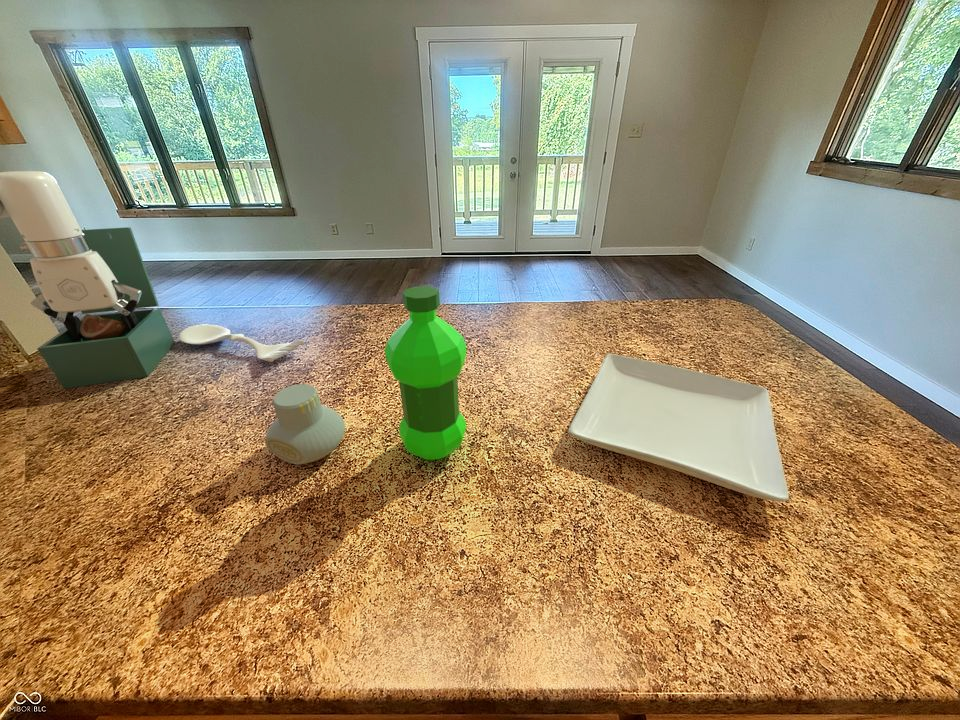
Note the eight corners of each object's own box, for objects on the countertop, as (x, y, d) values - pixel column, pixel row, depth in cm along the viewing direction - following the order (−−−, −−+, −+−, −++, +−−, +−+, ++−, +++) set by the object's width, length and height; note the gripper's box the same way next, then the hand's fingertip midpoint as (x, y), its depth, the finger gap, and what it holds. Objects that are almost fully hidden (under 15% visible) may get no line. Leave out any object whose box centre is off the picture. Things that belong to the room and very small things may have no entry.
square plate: (604, 366, 78) (607, 350, 76) (761, 404, 67) (769, 385, 65) (564, 448, 58) (566, 428, 56) (780, 521, 47) (793, 500, 45)
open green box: (148, 376, 76) (127, 337, 72) (64, 389, 72) (36, 348, 68) (175, 342, 89) (159, 307, 84) (104, 351, 85) (84, 315, 81)
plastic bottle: (424, 419, 64) (410, 274, 51) (480, 438, 60) (479, 286, 47) (386, 457, 56) (358, 298, 44) (446, 482, 52) (434, 314, 40)
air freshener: (357, 439, 60) (345, 387, 55) (320, 477, 53) (302, 421, 48) (303, 423, 63) (288, 372, 58) (262, 456, 57) (240, 402, 52)
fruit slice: (142, 335, 79) (131, 313, 77) (106, 349, 74) (93, 326, 71) (115, 329, 82) (103, 308, 79) (78, 343, 76) (64, 320, 74)
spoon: (275, 372, 77) (270, 357, 75) (173, 344, 88) (166, 331, 86) (308, 352, 84) (304, 338, 83) (210, 329, 95) (205, 316, 93)
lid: (128, 227, 78) (130, 227, 79) (45, 232, 74) (48, 231, 75) (157, 306, 84) (159, 305, 85) (81, 314, 80) (84, 313, 81)
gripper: (-18, 257, 63) (43, 349, 72) (109, 248, 68) (151, 336, 76) (13, 246, 69) (66, 332, 78) (128, 239, 74) (165, 321, 83)
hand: (108, 334), depth 77 cm, fingers closed on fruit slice, 8 cm apart
